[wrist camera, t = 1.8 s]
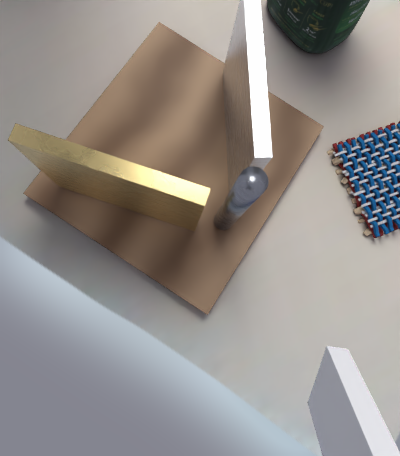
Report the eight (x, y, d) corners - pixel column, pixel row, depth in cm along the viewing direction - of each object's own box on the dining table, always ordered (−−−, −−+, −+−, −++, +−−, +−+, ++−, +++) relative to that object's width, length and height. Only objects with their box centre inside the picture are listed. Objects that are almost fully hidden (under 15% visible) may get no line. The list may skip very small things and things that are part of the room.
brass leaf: (198, 219, 32) (210, 188, 22) (194, 231, 32) (204, 205, 22) (63, 174, 32) (15, 123, 22) (58, 186, 32) (7, 140, 22)
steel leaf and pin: (244, 231, 34) (291, 195, 21) (212, 232, 34) (239, 195, 20) (235, 80, 37) (271, -38, 23) (205, 80, 36) (225, -40, 23)
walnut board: (28, 196, 33) (23, 193, 32) (159, 30, 37) (159, 21, 36) (206, 313, 32) (207, 314, 31) (318, 131, 36) (323, 126, 35)
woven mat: (406, 120, 38) (419, 110, 36) (449, 209, 37) (465, 204, 35) (321, 149, 37) (330, 140, 35) (363, 242, 35) (374, 240, 33)
